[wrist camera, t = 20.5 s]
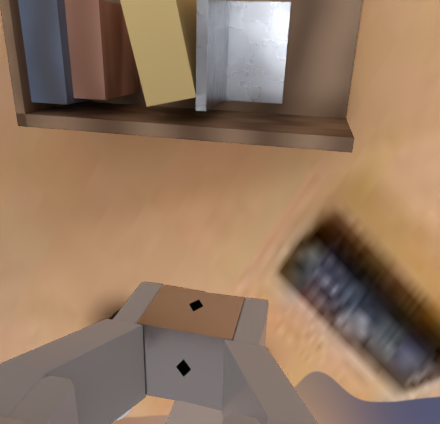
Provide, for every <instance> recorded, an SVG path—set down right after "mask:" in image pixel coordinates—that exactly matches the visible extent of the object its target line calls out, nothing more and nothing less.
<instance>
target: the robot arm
mask: <svg viewBox="0 0 440 424" xmlns="http://www.w3.org/2000/svg"><path fill="white" fill-rule="evenodd" d="M267 315H268V300H265V299H257V298H248V297H247V298H245V297H238V296H231V295H223V294H215V293H207V292H205V291H199V290H193V289H188V288H182V287H176V286H170V285H163V284H159V283H152V282H142V283H141V284H140V285H139V286H138V287H137V289H136V290H135V291H134V293H133V294H132V295H131V296H130V298H129V299H128V300H127V302H126V303H125V304H124V306H123V307H122V308H121V309H120V311H119V312H118V313H117V315H116V316H115V317H114V318H113V320H112V319H105V320H102V321H100V322H97V323H95V324H93V325H90V326H88V327H86V328H83V329H81V330H79V331H76V332H74V333H71V334H69V335H67V336H64V337H62V338H60V339H57V340H55V341H53V342H50V343H48V344H45V345H43V346H41V347H38V348H36V349H34V350H31V351H29V352H27V353H24V354H22V355H19V356H17V357H15V358H12V359H10V360H8V361H5V362H3V363H1V364H0V424H111V423H113V422H114V421H115V420H117V419H118V418H119V417H121V416H122V415H123V414H124V413H126V412H127V411H128V410H130V409H131V408H132V407H133V406H135V405H136V404H137V403H139V402H140V401H141V400H143V399H144V398H145V397H146V395H149V396H155V397H160V398H166V399H172V400H177V401H183V402H187V403H191V404H196V405H200V406H204V407H208V408H212V409H217V410H221V411H222V412H221V413H222V416H223V422H222V424H318V423H317V421H316V420H315V418H314V417H313V415H312V414H311V412H310V411H309V409H308V408H307V406H306V405H305V403H304V402H303V401H302V399H301V398H300V396H299V394H298V393H297V391H296V390H295V389H294V387H293V386H292V384H291V383H290V381H289V380H288V378H287V377H286V375H285V374H284V372H283V371H282V369H281V368H280V366H279V365H278V363H277V362H276V360H275V359H274V357H273V356H272V355H271V353H270V352H269V350H268V349H267V347H266V346H265V336H266V326H267Z"/></svg>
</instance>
